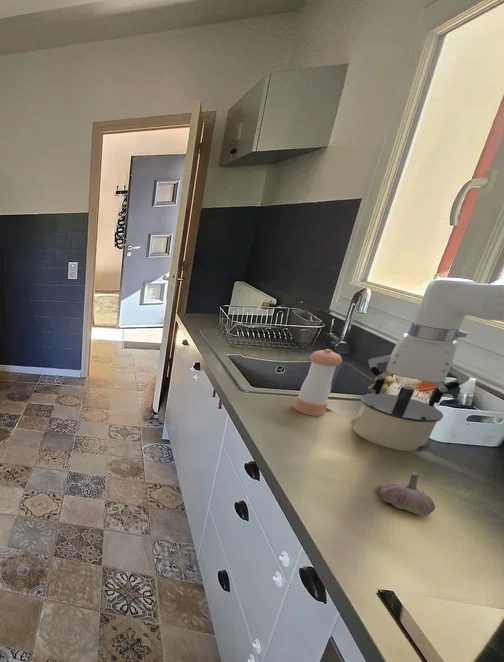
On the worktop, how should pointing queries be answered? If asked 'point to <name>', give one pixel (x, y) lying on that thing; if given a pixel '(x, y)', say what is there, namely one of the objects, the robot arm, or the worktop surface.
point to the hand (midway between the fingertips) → (402, 398)
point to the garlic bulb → (408, 497)
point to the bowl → (392, 430)
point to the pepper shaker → (317, 383)
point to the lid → (402, 406)
